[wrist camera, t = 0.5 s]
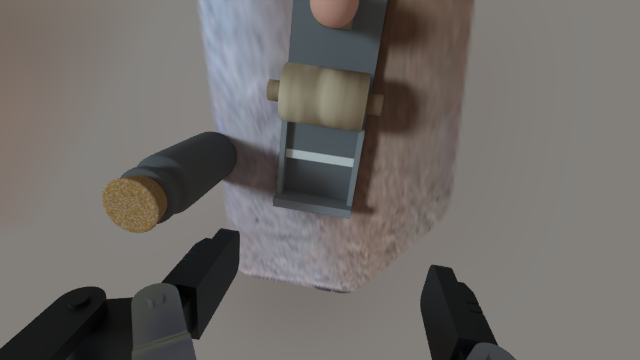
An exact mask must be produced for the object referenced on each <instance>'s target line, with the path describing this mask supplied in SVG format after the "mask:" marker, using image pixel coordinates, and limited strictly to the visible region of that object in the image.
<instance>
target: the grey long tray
mask: <svg viewBox="0 0 640 360" xmlns="http://www.w3.org/2000/svg"><path fill="white" fill-rule="evenodd" d="M387 2H388V0H359V5H358V9H357V12H356V14H355V16H354V17H353V22H352V29H351V30H350V29H342V28H328V27H325V26H321V25H320V24H319V23H318V22H317V20H316V19H315V17H314V15H313V13H312V11H311V7H310V0H293V12H292V24H291V36H290V48H289V61H288V62H290V63H298V64H305V65H312V66H320V67H327V68H335V69H342V70H349V71H357V72H364V73H371V77H370V85H369V91H368V93H371V92H372V86H373V81H374V75H375V69H376V64H377V58H378V52H379V47H380V41H381V36H382V30H383V24H384V19H385V13H386V7H387ZM366 120H367V114H365V115H364V120H363V125H362V130H361V132H357V131H350V130H343V129H336V128H330V127H323V126H316V125H309V124H303V123H296V122H289V121H282V127H281V139H280V152H279V164H278V177H277V189H276V195H275V197H274V198H273V206H277V207H283V208H289V209H295V210H300V211H306V212H312V213H318V214H324V215H330V216H336V217H342V218H348V219H350V215H351V206H352V201H353V195H354V190H355V184H356V178H357V173H358V167H359V161H360V156H361V150H362V145H363V139H364V133H365V126H366Z"/></svg>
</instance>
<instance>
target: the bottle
mask: <svg viewBox="0 0 640 360" xmlns="http://www.w3.org/2000/svg"><path fill="white" fill-rule="evenodd" d="M235 163H236V152H235V149H234V147H233V145H232V144H231V142H230V141H229V140H228V139H227V138H226V137H225V136H223V135H221V134H219V133H216V132H204V133H201V134H199V135H196V136H194V137H191V138H189V139H187V140H185V141H182V142H180V143H178V144H176V145H173V146H171V147H169V148H167V149H164V150H162V151H160V152H158V153H155V154H153V155H151V156H149V157H147V158H146V159H144V160H143V161H141V162H140V163H139V165H138V166H137V167H135V168H133V169H130V170H128V171H127V172H125V173H124V174H123V175H122V176H121V177H120V178H118V179H115V180H113V181H111V182H110V183H108V184H107V186H106V187H105V189H104V191H103V197H102V199H103V206H104V208H105V211H106V212H107V214H108V216H109V217H110V219H111V220H112V221H113V222H114V223H115V224H117V225H118V226H119V227H121V228H122V229H125V230H127V231H130V232H134V233H143V232H147V231H149V230H151V229H152V228H153V227H155V226H156V224H159V223H162V222H164V221H166V220H168V219H169V218H170V217H171V216H173V215H174V214H177V213H180V212H183V211H184V210H186V209H187V208H189V207H190V206H191V205H192V204H194V203H195V202H196V201H197V200H198V199H200V198H201V197H202V196H203V195H204V194H205V193H207V192H208V191H209V190H210V189H212V188H213V187H214V186H215V185H216V184H217V183H219V182H220V181H221V180H222V179H223V178H225V177H226V176H227V175H228V174H229V173H230V172H231V171H232V170H233V168H234V166H235Z"/></svg>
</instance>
